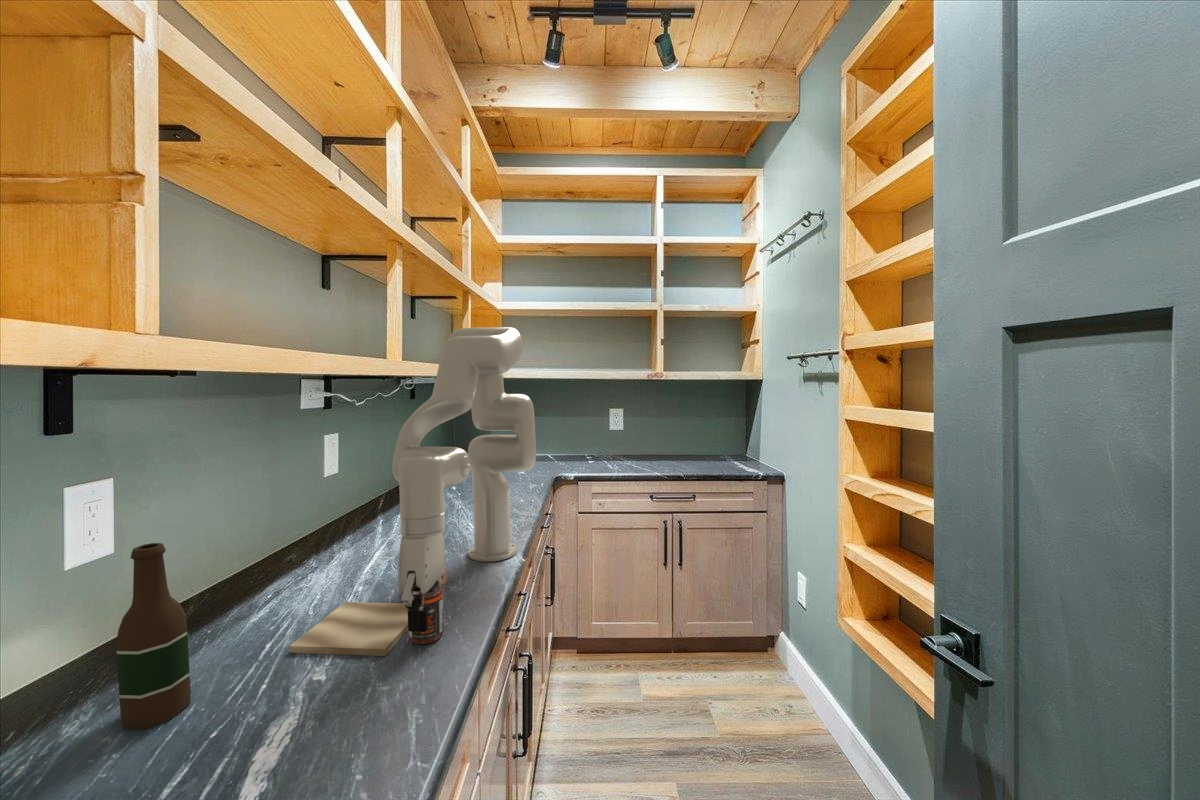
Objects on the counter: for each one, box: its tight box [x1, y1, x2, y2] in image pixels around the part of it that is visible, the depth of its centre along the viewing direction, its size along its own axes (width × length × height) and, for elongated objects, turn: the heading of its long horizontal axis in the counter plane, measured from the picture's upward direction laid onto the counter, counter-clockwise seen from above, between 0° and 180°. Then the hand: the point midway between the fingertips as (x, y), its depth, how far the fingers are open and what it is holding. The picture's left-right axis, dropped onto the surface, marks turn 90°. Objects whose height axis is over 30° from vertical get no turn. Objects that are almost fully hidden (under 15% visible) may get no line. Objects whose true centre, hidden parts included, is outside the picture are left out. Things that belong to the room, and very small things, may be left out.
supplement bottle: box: [408, 581, 445, 645], centre depth 87 cm, size 6×6×11 cm
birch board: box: [289, 601, 409, 657], centre depth 90 cm, size 16×17×1 cm
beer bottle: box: [116, 542, 192, 730], centre depth 68 cm, size 8×8×24 cm
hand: (426, 620), depth 87 cm, fingers closed on supplement bottle, 6 cm apart
